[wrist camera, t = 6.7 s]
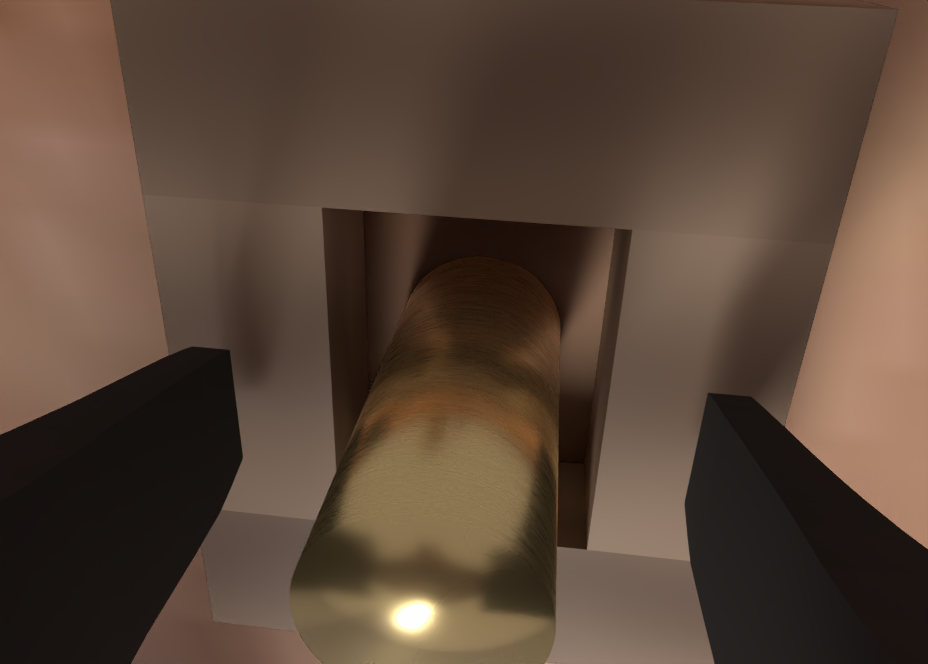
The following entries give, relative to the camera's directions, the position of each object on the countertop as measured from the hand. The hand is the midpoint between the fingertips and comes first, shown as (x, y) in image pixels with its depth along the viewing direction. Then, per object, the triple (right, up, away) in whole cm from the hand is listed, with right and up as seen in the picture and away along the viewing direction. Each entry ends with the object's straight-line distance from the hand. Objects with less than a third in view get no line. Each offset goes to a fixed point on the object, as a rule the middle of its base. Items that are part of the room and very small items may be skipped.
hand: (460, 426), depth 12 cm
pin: (0, +1, +3) cm, 3 cm away
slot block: (0, +2, +3) cm, 3 cm away
